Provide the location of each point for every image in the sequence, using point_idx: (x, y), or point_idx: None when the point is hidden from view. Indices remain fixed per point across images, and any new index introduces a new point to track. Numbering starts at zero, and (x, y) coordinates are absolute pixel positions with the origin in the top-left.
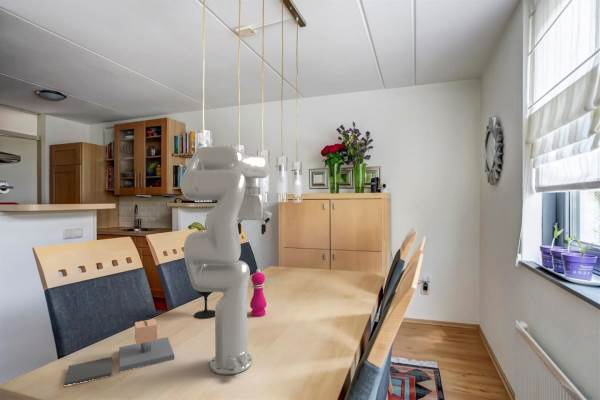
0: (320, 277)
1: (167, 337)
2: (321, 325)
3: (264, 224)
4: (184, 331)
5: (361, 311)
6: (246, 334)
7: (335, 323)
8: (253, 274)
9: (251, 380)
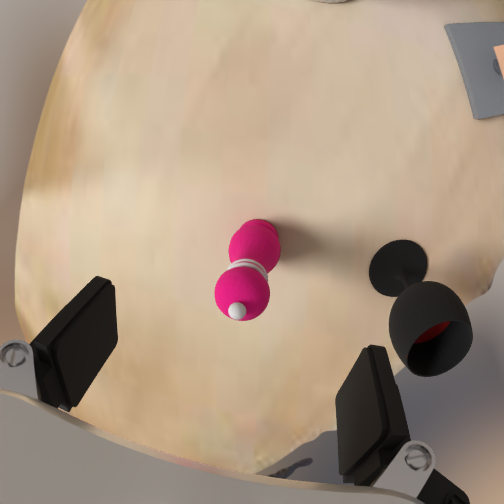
0: (116, 425)
1: (478, 117)
2: (104, 132)
3: (30, 354)
4: (447, 166)
5: (29, 209)
6: None
7: (76, 142)
8: (258, 302)
9: None
